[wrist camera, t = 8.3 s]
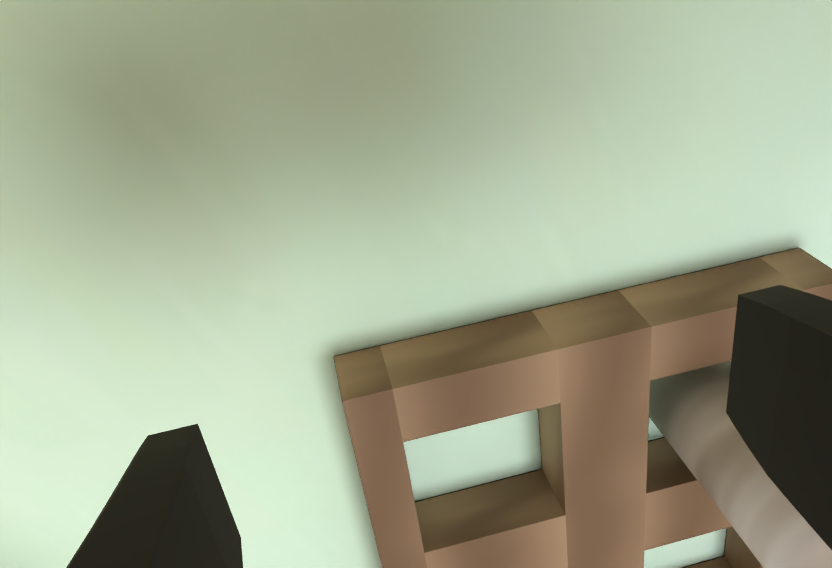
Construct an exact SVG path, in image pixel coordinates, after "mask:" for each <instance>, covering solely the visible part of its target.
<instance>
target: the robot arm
mask: <svg viewBox="0 0 832 568" xmlns="http://www.w3.org/2000/svg"><path fill="white" fill-rule="evenodd" d="M726 413H727V415H728V417H729V418H730V420H731V421H732V423H733V424H734V426H735V428H736V429H737V431H738V432H739V434H740V436H741V437H742V439H743V440H744V442H745V443H746V445H747V447H748V448H749V450H750V451H751V452H752V454H753V455H754V457H755V458H756V460H757V461H758V463H759V464H760V466H761V467H762V468H763V470H764V471H765V473H766V474H767V476H768V477H769V478H770V479H771V480H772V482H773V483H774V484H775V485H776V486H777V488H778V489H779V490H780V491H781V492H782V494H783V495H784V496H785V497H786V498H787V499H788V501H789V502H790V503H791V504H792V505H793V506H794V508H795V509H796V510H797V511H798V512H799V513H800V515H801V516H802V517H803V518H804V519H805V520H806V522H807V523H808V524H809V525H810V526H811V527H812V528H813V530H814V531H815V532H816V533H817V534H818V535H819V536H820V538H821V539H822V540H823V541H824V542H825V543H826V544H827V546H828V547H829V548H830V549H831V550H832V300H829V299H826V298H823V297H820V296H817V295H814V294H811V293H807V292H804V291H801V290H797V289H794V288H790V287H787V286H783V285H777V286H773V287H769V288H765V289H760V290H756V291H752V292H748V293H744V294H739V295H738V301H737V311H736V320H735V330H734V340H733V349H732V359H731V368H730V378H729V388H728V397H727V407H726ZM67 568H243V561H242V548H241V537H240V534H239V532H238V529H237V526H236V524H235V521H234V518H233V516H232V513H231V511H230V508H229V505H228V503H227V500H226V497H225V495H224V492H223V489H222V487H221V484H220V482H219V479H218V476H217V474H216V471H215V468H214V466H213V463H212V460H211V458H210V455H209V452H208V450H207V447H206V445H205V442H204V439H203V437H202V434H201V431H200V429H199V426H198V424H195V425H191V426H186V427H182V428H178V429H174V430H170V431H165V432H161V433H157V434H153V435H149V436H147V438H146V439H145V441H144V442H143V443H142V445H141V447H140V448H139V450H138V451H137V453H136V455H135V456H134V458H133V460H132V461H131V463H130V465H129V466H128V468H127V470H126V471H125V473H124V475H123V476H122V478H121V480H120V481H119V483H118V485H117V487H116V488H115V490H114V492H113V493H112V495H111V497H110V498H109V500H108V502H107V503H106V505H105V507H104V508H103V510H102V512H101V513H100V515H99V517H98V518H97V520H96V521H95V523H94V525H93V526H92V528H91V530H90V531H89V533H88V535H87V536H86V538H85V539H84V541H83V542H82V544H81V546H80V547H79V549H78V550H77V552H76V553H75V555H74V557H73V558H72V560H71V561H70V563H69V564H68V566H67Z"/></svg>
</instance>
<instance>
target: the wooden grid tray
mask: <svg viewBox="0 0 832 568" xmlns="http://www.w3.org/2000/svg"><path fill="white" fill-rule="evenodd" d="M777 285H783V286H787V287H790V288H794V289H797V290H801V291H804V292H807V293H811V294H814V295H817V296H820V297H823V298H826V299H829V300H832V269H831V268H830V267H828V266H827V265H825V264H824V263H822V262H820V261H819V260H817V259H816V258H814V257H813V256H811V255H810V254H808V253H807V252H805V251H804V250H802V249H801V248H797V249H793V250H788V251H784V252H780V253H775V254H771V255H767V256H763V257H758V258H754V259H750V260H745V261H741V262H737V263H733V264H728V265H724V266H720V267H715V268H711V269H707V270H703V271H698V272H694V273H690V274H685V275H681V276H677V277H673V278H668V279H664V280H660V281H655V282H651V283H647V284H643V285H638V286H634V287H630V288H625V289H621V290H617V291H613V292H608V293H604V294H600V295H596V296H591V297H587V298H583V299H578V300H574V301H570V302H566V303H561V304H557V305H553V306H548V307H544V308H540V309H536V310H531V311H527V312H523V313H518V314H514V315H510V316H506V317H501V318H497V319H493V320H488V321H484V322H480V323H476V324H471V325H467V326H463V327H458V328H454V329H450V330H446V331H441V332H437V333H433V334H428V335H424V336H420V337H416V338H411V339H407V340H403V341H398V342H394V343H390V344H386V345H381V346H377V347H373V348H368V349H364V350H360V351H356V352H351V353H347V354H343V355H338V356H334V361H335V367H336V372H337V377H338V382H339V388H340V393H341V398H342V403H343V407H344V411H345V415H346V419H347V424H348V428H349V432H350V436H351V440H352V444H353V448H354V453H355V457H356V461H357V465H358V469H359V473H360V477H361V482H362V486H363V490H364V494H365V498H366V502H367V506H368V511H369V515H370V519H371V523H372V527H373V531H374V535H375V540H376V544H377V548H378V552H379V556H380V560H381V564H382V568H644V550H648V549H652V548H655V547H659V546H663V545H666V544H670V543H673V542H677V541H681V540H684V539H688V538H691V537H695V536H699V535H702V534H706V533H710V532H713V531H717V530H720V529H724V528H727V536H726V544H725V553H724V557H721V558H717V559H713V560H710V561H706V562H703V563H699V564H696V565H692V566H688V567H685V568H832V550H831V549H830V548H829V547H828V546H827V544H826V543H825V542H824V541H823V540H822V539H821V538H820V536H819V535H818V534H817V533H816V532H815V531H814V530H813V528H812V527H811V526H810V525H809V524H808V523H807V522H806V520H805V519H804V518H803V517H802V516H801V515H800V513H799V512H798V511H797V510H796V509H795V508H794V506H793V505H792V504H791V503H790V502H789V501H788V499H787V498H786V497H785V496H784V495H783V494H782V492H781V491H780V490H779V489H778V488H777V486H776V485H775V484H774V483H773V482H772V480H771V479H770V478H769V477H768V476H767V474H766V473H765V471H764V470H763V468H762V467H761V466H760V464H759V463H758V461H757V460H756V458H755V457H754V455H753V454H752V452H751V451H750V450H749V448H748V447H747V445H746V443H745V442H744V440H743V439H742V437H741V436H740V434H739V432H738V431H737V429H736V428H735V426H734V424H733V423H732V421H731V420H730V418H729V417H728V415H727V413H726V407H727V397H728V388H729V378H730V368H731V359H732V349H733V340H734V330H735V320H736V311H737V301H738V295H739V294H744V293H748V292H752V291H756V290H760V289H765V288H769V287H773V286H777ZM534 409H538V413H539V428H540V443H541V458H542V470H538V471H534V472H530V473H526V474H523V475H519V476H515V477H511V478H507V479H503V480H499V481H495V482H492V483H488V484H484V485H480V486H476V487H472V488H468V489H465V490H461V491H457V492H453V493H449V494H445V495H441V496H438V497H434V498H430V499H426V500H422V501H418V502H414V497H413V492H412V486H411V481H410V476H409V471H408V466H407V461H406V455H405V450H404V445H403V442H406V441H410V440H414V439H418V438H422V437H426V436H430V435H434V434H438V433H442V432H446V431H450V430H454V429H458V428H462V427H466V426H470V425H474V424H478V423H482V422H486V421H490V420H494V419H498V418H502V417H506V416H510V415H514V414H518V413H522V412H526V411H530V410H534ZM649 417H650V418H651V420H652V421H653V422H654V424H655V425H656V426H657V428H658V429H659V430H660V432H661V433H662V434H663V436H664V437H665V438H662V439H658V440H654V441H650V442H648V423H649Z"/></svg>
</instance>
